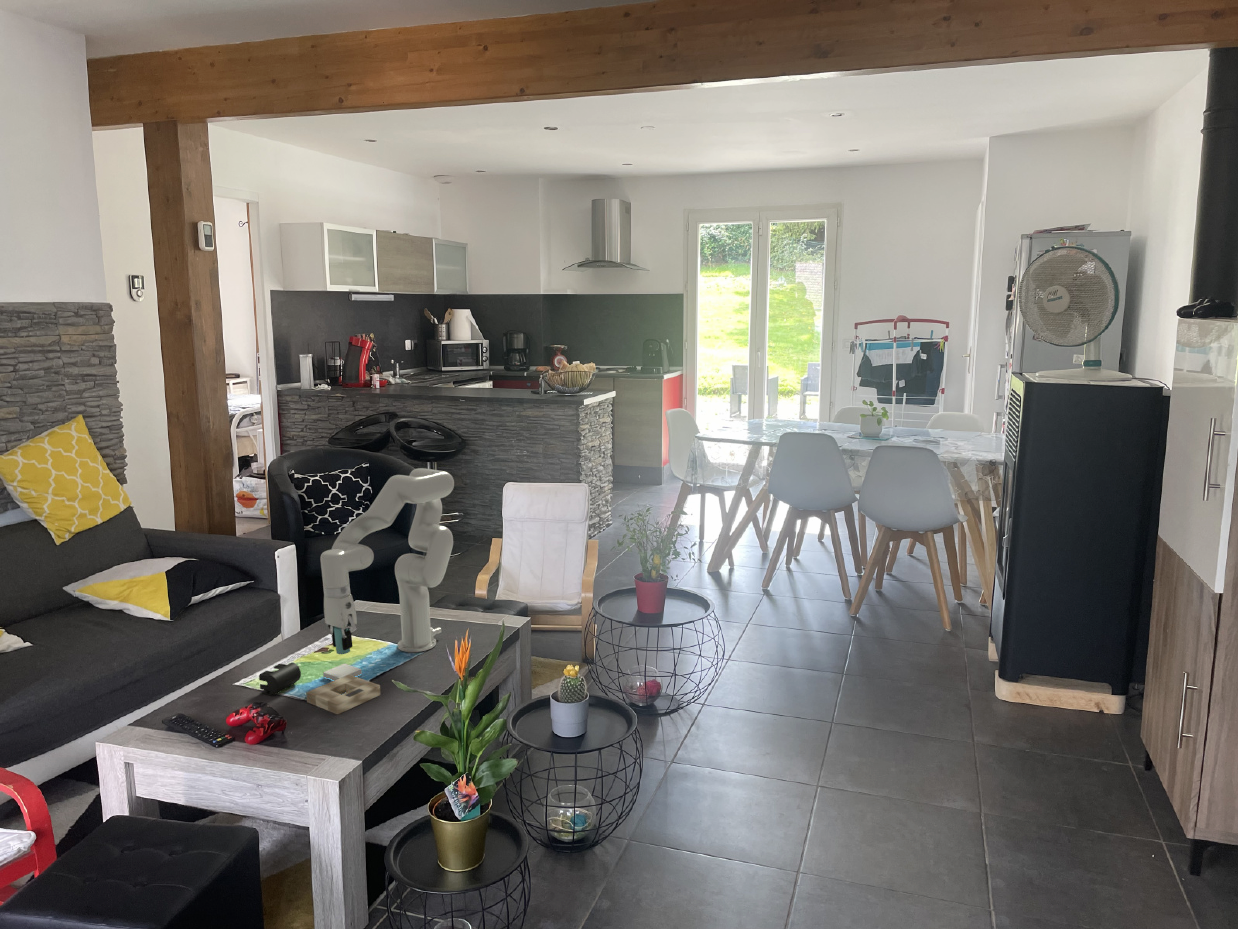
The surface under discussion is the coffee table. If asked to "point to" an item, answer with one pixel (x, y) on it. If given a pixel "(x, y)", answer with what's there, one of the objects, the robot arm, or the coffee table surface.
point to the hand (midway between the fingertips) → (342, 646)
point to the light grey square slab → (342, 672)
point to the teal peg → (339, 641)
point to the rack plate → (338, 703)
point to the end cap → (279, 678)
